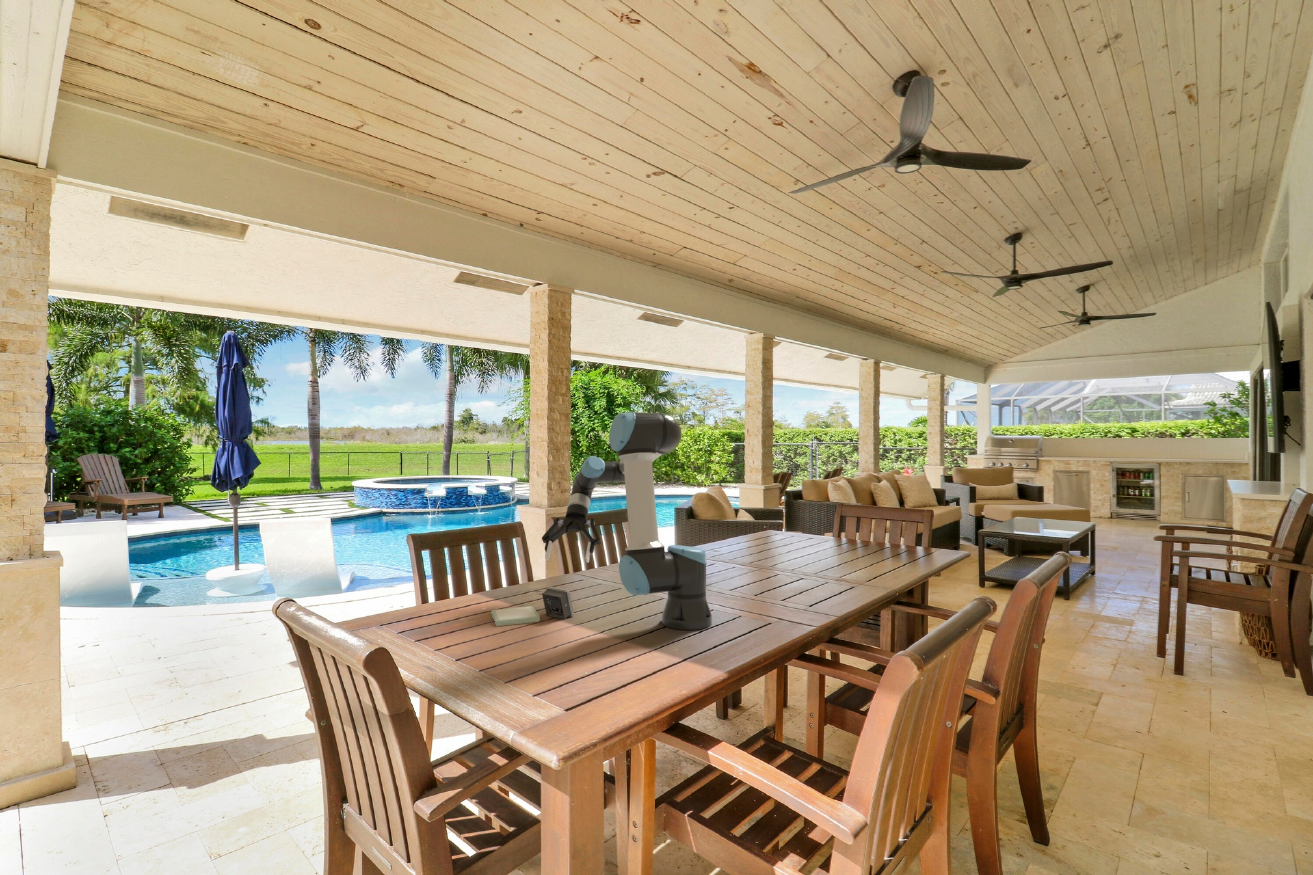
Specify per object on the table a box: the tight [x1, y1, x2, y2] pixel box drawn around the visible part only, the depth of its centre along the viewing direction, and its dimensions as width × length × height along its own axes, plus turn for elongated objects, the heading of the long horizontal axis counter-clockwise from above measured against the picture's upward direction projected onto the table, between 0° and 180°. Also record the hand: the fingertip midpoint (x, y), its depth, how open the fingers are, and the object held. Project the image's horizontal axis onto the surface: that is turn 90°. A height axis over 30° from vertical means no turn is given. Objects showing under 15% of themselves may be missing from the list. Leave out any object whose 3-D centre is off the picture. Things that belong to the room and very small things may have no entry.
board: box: [490, 605, 541, 627], centre depth 194 cm, size 13×13×2 cm
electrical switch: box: [541, 585, 575, 620], centre depth 196 cm, size 9×5×9 cm, turn 57°
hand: (566, 559), depth 206 cm, fingers open, 13 cm apart
